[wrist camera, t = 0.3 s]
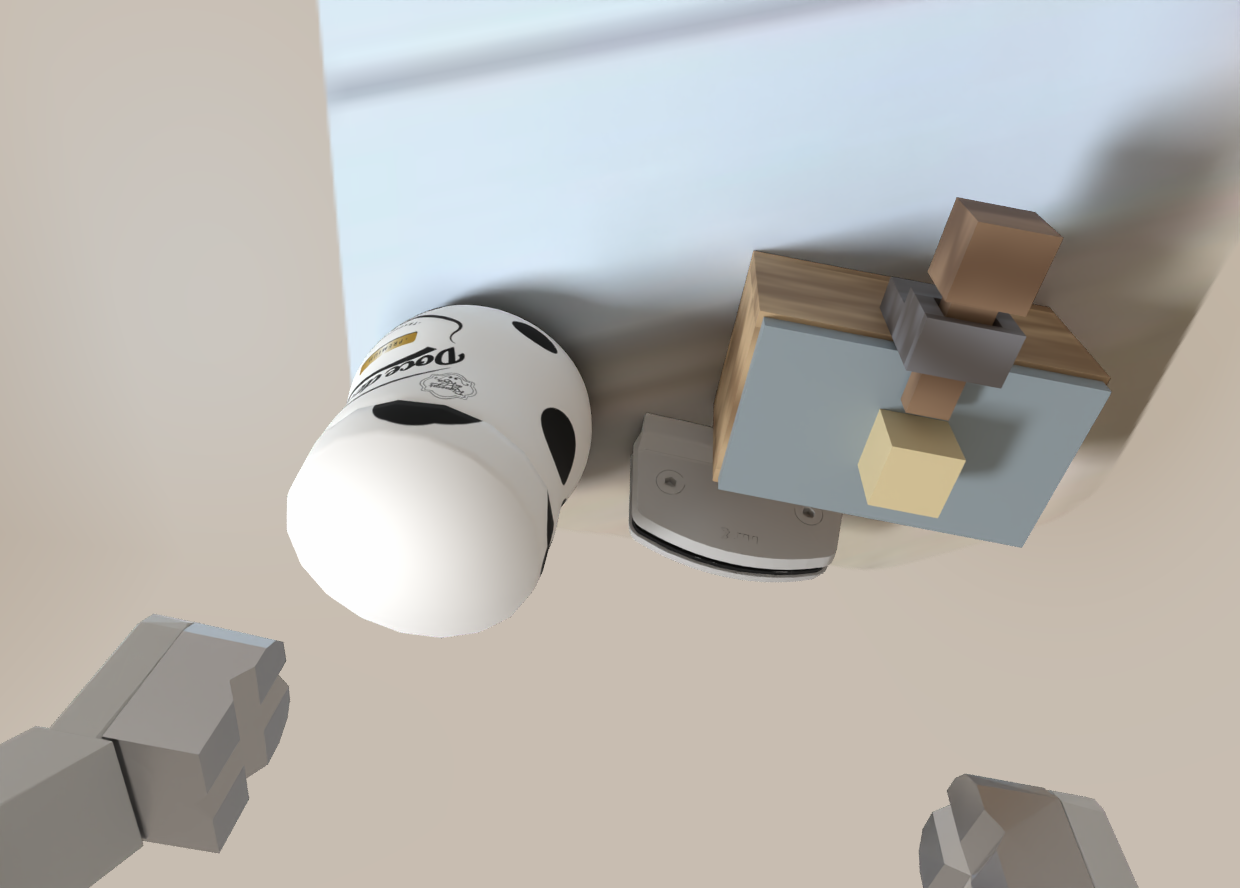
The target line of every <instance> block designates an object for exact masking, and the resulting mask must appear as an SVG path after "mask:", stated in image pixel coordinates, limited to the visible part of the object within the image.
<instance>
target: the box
mask: <svg viewBox="0 0 1240 888" xmlns="http://www.w3.org/2000/svg"><path fill="white" fill-rule="evenodd" d="M941 299H942V295H941V294H940V292H939V290H938V289H937V287H936V285H933V284H928V283H922V282H917V281H912V280H907V279H902V278H896V277H889V276H883V275H878V274H873V273H868V272H863V271H857V270H852V269H847V268H842V267H837V266H831V265H826V264H821V263H816V262H811V261H805V260H800V259H795V258H790V257H784V256H779V255H774V254H769V253H764V252H758V251H753V255H752V259H751V262H750V266H749V270H748V274H747V278H746V282H745V285H744V289H743V293H742V297H741V301H740V305H739V308H738V312H737V316H736V320H735V324H734V328H733V331H732V335H731V339H730V343H729V347H728V351H727V354H726V358H725V362H724V366H723V370H722V374H721V377H720V381H719V385H718V389H717V393H716V397H715V400H714V411H713V481H714V482H718V477H719V473H720V470H721V466H722V463H723V459H724V456H725V452H726V449H727V445H728V442H729V438H730V434H731V431H732V427H733V424H734V420H735V417H736V413H737V410H738V406H739V402H740V399H741V395H742V392H743V388H744V385H745V381H746V378H747V374H748V370H749V367H750V363H751V360H752V356H753V353H754V349H755V346H756V342H757V338H758V335H759V331H760V328H761V324H762V321H763V317H769V318H774V319H780V320H785V321H790V322H795V323H800V324H806V325H811V326H816V327H821V328H826V329H832V330H837V331H842V332H847V333H852V334H858V335H863V336H868V337H873V338H879V339H884V340H889V341H894V343H895V346H896V348H897V350H898V353H899V355H900V357H901V360H902V362H903V365H904V367H905V369H906V371H911V372H917V373H922V374H927V375H932V376H937V377H943V378H948V379H953V380H958V381H963V382H969V383H974V384H979V385H984V386H990V387H995V388H1000V389H1001V388H1002V386H1003V384H1004V382H1005V380H1006V378H1007V376H1008V374H1009V372H1010V370H1011V368H1012V366H1013V364H1014V365H1019V366H1024V367H1029V368H1035V369H1040V370H1045V371H1050V372H1055V373H1061V374H1066V375H1071V376H1076V377H1082V378H1087V379H1092V380H1097V381H1102V382H1104V383H1105V385H1106V386H1107V384H1108V382H1109V380H1110V379H1111V378H1110V376H1109V375H1108V374H1107V373H1106V372H1105V371H1104V370H1103V368H1102V367H1101V366H1100V365H1099V364H1098V363H1097V361H1096V360H1095V359H1094V358H1093V357H1092V356H1091V355H1090V353H1089V352H1088V351H1087V350H1086V349H1085V348H1084V347H1083V345H1082V344H1081V343H1080V342H1079V341H1078V340H1077V339H1076V337H1075V336H1074V335H1073V334H1072V333H1071V332H1070V330H1069V329H1068V328H1067V327H1066V326H1065V325H1064V324H1063V322H1062V321H1061V320H1060V319H1059V318H1058V317H1057V316H1056V314H1055V313H1054V312H1053V311H1052V310H1051V309H1050V308H1049V307H1045V306H1040V305H1034V304H1032V305H1031V307H1030V309H1029V311H1028V313H1027V315H1026V317H1024V316H1019V315H1014V314H1008V313H1003V312H998V314H997V316H996V318H995V320H994V323H993V325H992V326H991V325H986V324H981V323H975V322H970V321H965V320H960V319H955V318H949V317H944V315H943V313H942V312H941V310H940V308H939V304H940V302H941Z"/></svg>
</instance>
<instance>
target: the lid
mask: <svg viewBox="0 0 1240 888" xmlns="http://www.w3.org/2000/svg"><path fill="white" fill-rule="evenodd" d="M910 375H911V371H906V369H905V367H904V365H903V362H902V360H901V357H900V355H899V353H898V350H897V348H896V346H895V343H894V341H889V340H884V339H879V338H873V337H868V336H863V335H858V334H852V333H847V332H842V331H837V330H832V329H826V328H821V327H816V326H811V325H806V324H800V323H795V322H790V321H785V320H780V319H774V318H769V317H763V321H762V324H761V328H760V331H759V335H758V338H757V342H756V346H755V349H754V353H753V356H752V360H751V363H750V367H749V370H748V374H747V378H746V381H745V385H744V388H743V392H742V395H741V399H740V402H739V406H738V410H737V413H736V417H735V420H734V424H733V427H732V431H731V434H730V438H729V442H728V445H727V449H726V452H725V456H724V459H723V463H722V466H721V470H720V473H719V477H718V489H719V490H724V491H730V492H735V493H740V494H745V495H750V496H756V497H761V498H766V499H771V500H776V501H782V502H787V503H792V504H797V505H802V506H808V507H813V508H818V509H823V510H828V511H834V512H839V513H844V514H849V515H854V516H860V517H865V518H870V519H875V520H880V521H886V522H891V523H896V524H901V525H906V526H912V527H917V528H922V529H927V530H932V531H938V532H943V533H948V534H953V535H958V536H964V537H969V538H974V539H979V540H984V541H989V542H995V543H1000V544H1005V545H1010V546H1015V547H1022V546H1023V545H1024V543H1025V541H1026V540H1027V538H1028V536H1029V535H1030V533H1031V531H1032V529H1033V528H1034V526H1035V524H1036V522H1037V521H1038V519H1039V517H1040V515H1041V514H1042V512H1043V510H1044V509H1045V507H1046V505H1047V503H1048V502H1049V500H1050V498H1051V496H1052V495H1053V493H1054V491H1055V489H1056V488H1057V486H1058V484H1059V483H1060V481H1061V479H1062V477H1063V476H1064V474H1065V472H1066V470H1067V469H1068V467H1069V465H1070V463H1071V462H1072V460H1073V458H1074V457H1075V455H1076V453H1077V451H1078V450H1079V448H1080V446H1081V444H1082V443H1083V441H1084V439H1085V437H1086V436H1087V434H1088V432H1089V431H1090V429H1091V427H1092V425H1093V424H1094V422H1095V420H1096V418H1097V417H1098V415H1099V413H1100V411H1101V410H1102V408H1103V406H1104V405H1105V403H1106V401H1107V399H1108V398H1109V396H1110V394H1111V391H1110V389H1109V388H1108V387H1107V386H1106V385H1105V383H1104V382H1102V381H1097V380H1092V379H1087V378H1082V377H1076V376H1071V375H1066V374H1061V373H1055V372H1050V371H1045V370H1040V369H1035V368H1029V367H1024V366H1019V365H1014V364H1013V366H1012V368H1011V370H1010V372H1009V374H1008V376H1007V378H1006V380H1005V382H1004V384H1003V386H1002V388H1001V389H1000V388H995V387H990V386H984V385H979V384H974V383H969V382H966V384H965V386H964V388H963V390H962V393H961V395H960V397H959V399H958V401H957V404H956V406H955V408H954V410H953V412H952V414H951V417H950V419H949V421H947V420H942V419H937V418H932V417H927V416H921V415H916V414H911V413H906V412H905V409H904V407H903V404H902V402H901V397H902V394H903V392H904V389H905V387H906V385H907V382H908V380H909V377H910Z"/></svg>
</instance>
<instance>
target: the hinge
mask: <svg viewBox="0 0 1240 888" xmlns="http://www.w3.org/2000/svg"><path fill="white" fill-rule="evenodd" d="M841 519H842V513H839V512H834V511H828V510H823V509H818V508H813V507H808V506H802V505H797V504H792V503H787V502H782V501H776V500H771V499H766V498H761V497H756V496H750V495H745V494H740V493H735V492H730V491H724V490H719V489H718V482H714V481H713V427H708V426H704V425H699V424H695V423H690V422H686V421H681V420H677V419H672V418H668V417H663V416H659V415H654V414H650V413H646V414H645V417H644V420H643V425H642V431H641V433H640V435H639V436H638V438H637V440H636V441H635V443H634V444H633V455H632V454H631V466H630V497H629V530H630V534H631V536H632V538H633V539H634V540H635V541H637V542H638V543H640V544H642V545H644V546H645V547H647V548H649V549H650V550H653V551H654V552H656V553H658V554H660V555H663V556H664V557H666V558H669V559H671V560H673V561H676V562H678V563H680V564H683V565H686V566H689V567H691V568H694V569H697V570H701V571H704V572H707V573H711V574H715V575H719V576H723V577H729V578H734V579H740V580H748V581H760V582H791V581H802V580H809V579H814V578H815V577H817V576H819V575H820V574H822V573H823V572H825V570H826V569H827V566H828V565H829V564H830V563H831V562H832V561H833V559H834V556H835V553H836V550H837V545H838V538H839V532H840V525H841Z"/></svg>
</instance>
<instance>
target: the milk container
mask: <svg viewBox="0 0 1240 888" xmlns="http://www.w3.org/2000/svg"><path fill="white" fill-rule="evenodd" d="M591 438H592V418H591V408H590V402H589V397H588V393H587V390H586V387H585V384H584V382H583V379H582V377H581V375H580V373H579V371H578V369H577V368H576V366H575V365H574V363H573V361H572V360H571V359H570V357H569V356H568V355H567V353H566V352H565V351H564V350H563V349H562V348H561V347H560V346H559V345H558V344H557V343H556V342H555V341H554V340H553V339H552V338H551V337H550V336H548V335H547V334H546V333H545V332H543V331H542V330H541V329H539V328H538V327H537V326H535V325H533V324H531V323H530V322H528V321H526V320H524V319H522V318H520V317H518V316H515V315H513V314H510V313H508V312H505V311H502V310H499V309H494V308H489V307H484V306H477V305H453V306H445V307H440V308H435V309H432V310H429V311H426V312H423V313H421V314H419V315H417V316H415V317H413V318H411V319H409V320H407V321H405V322H404V323H402V324H400V325H399V326H397V327H396V328H394V329H393V330H392V331H391V332H389V333H388V334H387V335H386V336H384V337H383V338H382V339H381V340H380V341H379V342H378V343H377V344H376V345H375V346H374V347H373V349H372V350H371V351H370V352H369V354H368V355H367V356H366V357H365V359H364V361H363V362H362V364H361V366H360V367H359V369H358V371H357V373H356V375H355V377H354V380H353V383H352V386H351V389H350V392H349V396H348V401H347V405H346V406H345V407H344V408H343V409H342V410H341V412H340V413H339V414H338V415H337V416H336V417H335V419H334V420H333V421H332V422H331V423H330V425H329V426H328V427H327V428H326V429H325V431H324V432H323V434H322V435H321V436H320V437H319V438H318V440H317V441H316V442H315V444H314V446H313V448H312V450H311V451H310V453H309V455H308V457H307V458H306V460H305V462H304V464H303V466H302V468H301V469H300V471H299V473H298V475H297V477H296V479H295V481H294V482H293V484H292V486H291V488H290V490H289V493H288V496H287V532H288V534H289V537H290V539H291V542H292V544H293V546H294V549H295V551H296V554H297V556H298V558H299V561H300V563H301V565H302V566H303V567H304V568H305V570H306V571H307V572H308V573H309V574H310V575H311V576H312V578H313V579H314V580H315V581H316V582H317V583H318V584H319V586H320V587H321V588H322V589H323V590H324V591H325V593H326V594H327V595H329V596H330V597H332V598H333V599H335V600H336V601H338V602H339V603H340V604H342V605H343V606H345V607H346V608H348V609H350V610H351V611H352V612H354V613H355V614H357V615H358V616H360V617H361V618H364V619H366V620H369V621H371V622H374V623H377V624H379V625H382V626H384V627H387V628H390V629H393V630H395V631H398V632H400V633H407V634H415V635H423V636H431V637H439V638H444V637H451V636H459V635H466V634H473V633H479V632H481V631H484V630H485V629H488V628H490V627H492V626H494V625H496V624H498V623H500V622H502V621H504V620H506V619H508V618H510V617H511V616H512V615H513V614H514V613H515V611H516V610H517V609H518V608H519V607H520V606H521V604H522V603H523V602H524V601H525V600H526V599H527V598H528V596H529V595H530V594H531V593H532V591H533V590H534V588H535V586H536V585H537V583H538V580H539V578H540V576H541V574H542V571H543V568H544V564H545V561H546V557H547V553H548V549H549V547H550V545H551V543H552V541H553V538H554V534H555V531H556V527H557V522H558V518H559V513H560V508H561V506H562V505H563V504H564V503H565V502H566V500H567V499H568V498H569V496H570V495H571V494H572V492H573V491H574V489H575V488H576V486H577V484H578V483H579V480H580V478H581V476H582V474H583V472H584V469H585V466H586V463H587V460H588V456H589V451H590V447H591Z"/></svg>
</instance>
